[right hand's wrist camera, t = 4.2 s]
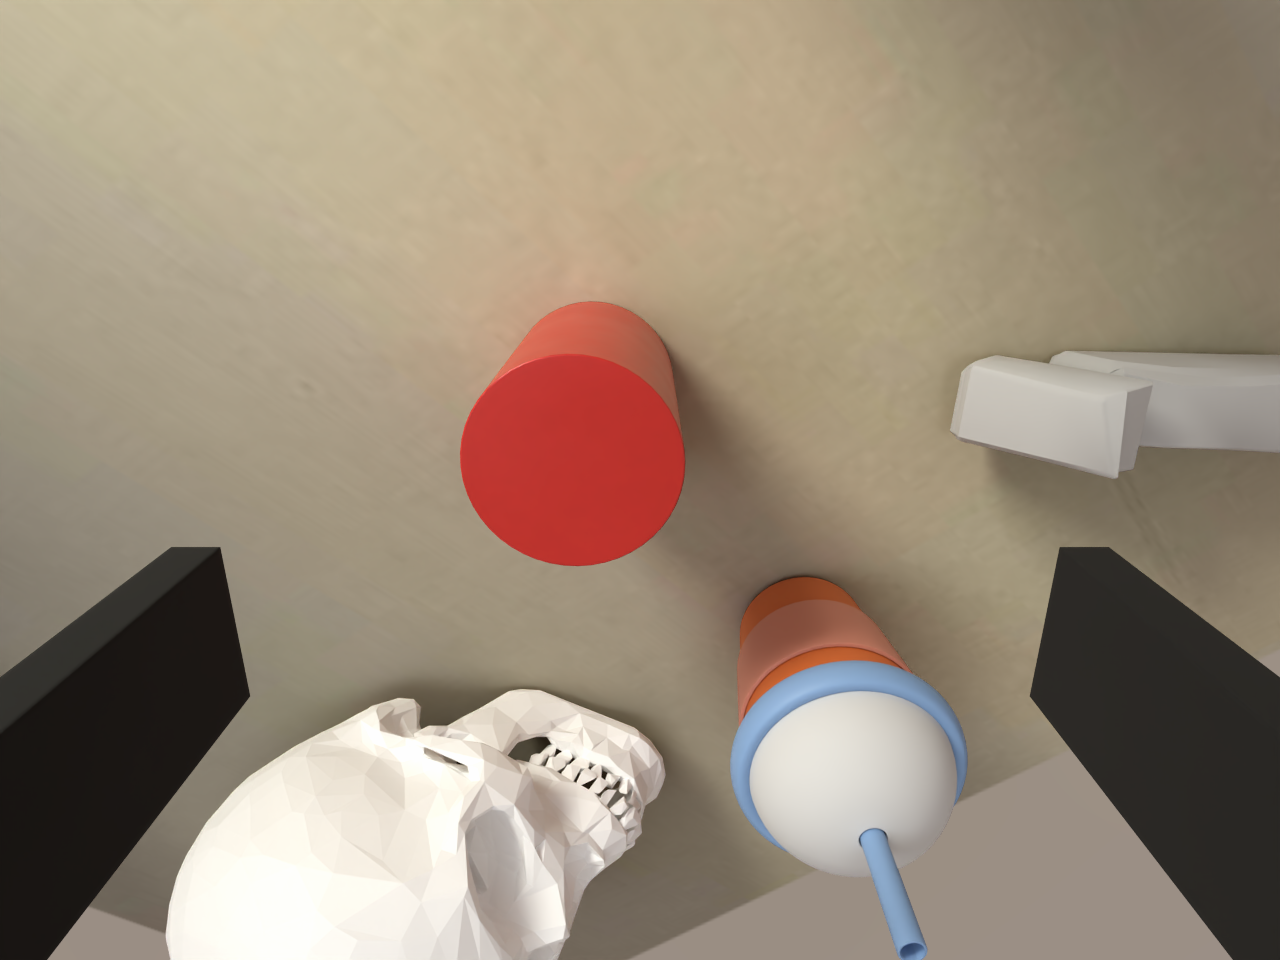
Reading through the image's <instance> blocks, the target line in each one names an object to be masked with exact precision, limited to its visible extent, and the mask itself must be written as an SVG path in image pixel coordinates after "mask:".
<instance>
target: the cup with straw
mask: <svg viewBox="0 0 1280 960" xmlns="http://www.w3.org/2000/svg"><path fill="white" fill-rule="evenodd" d="M737 680H738V710H739V728H738V731H737V733H736V736H735V739H734V742H733V747H732V751H731V761H730V767H731V779H732V785H733V789H734V792H735V795H736V798H737V800H738V803H739V805H740V807H741V809H742V811H743V813H744V814H745V816H746V817H747V819H748V820H749V822H750V823H751V824H752V825H753V827H754V828H755V829H756V830H757V831H758V832H759V833H760V834H761V835H762V836H763V837H765V838H766V839H767V840H768V841H770V842H771V843H773V844H774V845H775V846H777V847H779V848H781V849H782V850H784V851H786V852H789V853H790V854H791V855H793V856H794V857H796V858H797V859H799V860H800V861H802V862H804V863H805V864H807V865H809V866H811V867H813V868H816V869H818V870H821V871H824V872H826V873H830V874H834V875H839V876H846V877H871V876H872V878H873V881H874V884H875V887H876V890H877V893H878V896H879V900H880V903H881V905H882V909H883V912H884V915H885V918H886V921H887V924H888V927H889V930H890V933H891V936H892V939H893V942H894V945H895V948H896V951H897V954H898V956H899V958H900V959H901V960H922V959H923V958H924V957H925V956H926V954H927V946H926V944H925V941H924V938H923V936H922V933H921V930H920V927H919V925H918V922H917V919H916V917H915V914H914V911H913V909H912V906H911V903H910V900H909V898H908V895H907V892H906V890H905V887H904V884H903V881H902V879H901V876H900V873H899V871H898V869H900V868H902V867H904V866H906V865H908V864H910V863H911V862H913V861H914V860H916V859H917V858H919V857H920V856H921V855H922V854H924V853H925V852H926V851H927V850H928V849H929V848H930V847H931V846H932V845H933V844H934V843H935V841H936V840H937V839H938V837H939V836H940V835H941V833H942V832H943V830H944V828H945V826H946V824H947V822H948V820H949V818H950V815H951V813H952V810H953V807H954V805H955V804H956V802H957V800H958V798H959V796H960V794H961V791H962V788H963V786H964V782H965V778H966V773H967V748H966V741H965V738H964V734H963V730H962V728H961V725H960V723H959V721H958V719H957V717H956V715H955V713H954V711H953V710H952V708H951V707H950V706H949V704H948V703H947V702H946V700H945V699H944V698H943V697H942V696H941V695H940V694H939V693H938V692H937V691H936V690H935V689H934V688H933V687H932V686H930V685H929V684H928V683H926V682H925V681H924V680H922V679H921V678H919V677H917V676H915V675H913V673H912V672H911V670H910V669H909V668H908V666H907V665H906V664H905V662H904V661H903V660H902V658H901V657H900V656H899V654H898V653H897V652H896V650H895V649H894V648H893V646H892V645H891V643H890V642H889V641H888V639H887V638H886V637H885V635H884V634H883V633H882V631H881V630H880V629H879V627H878V626H877V625H876V624H875V623H874V622H873V620H872V619H871V618H870V617H868V616H867V615H866V614H864V613H863V612H862V611H861V610H860V608H859V607H858V605H857V604H856V603H855V601H854V600H853V599H852V598H851V597H850V596H849V595H848V593H846V592H845V591H844V590H843V589H841V588H840V587H838V586H837V585H835V584H833V583H831V582H828V581H825V580H822V579H818V578H811V577H798V578H791V579H787V580H783V581H780V582H778V583H776V584H773V585H772V586H770V587H768V588H767V589H765V590H764V591H762V592H761V593H760V594H759V595H758V596H757V597H756V598H755V599H754V600H753V601H752V602H751V604H750V605H749V606H748V608H747V610H746V612H745V614H744V616H743V619H742V622H741V627H740V653H739V658H738V665H737Z"/></svg>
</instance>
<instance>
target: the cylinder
mask: <svg viewBox="0 0 1280 960" xmlns="http://www.w3.org/2000/svg"><path fill="white" fill-rule="evenodd" d="M460 464H461V472H462V478H463V482H464V485H465V488H466V492H467V494H468V497H469V499H470V501H471V503H472V505H473V507H474V509H475V510H476V512H477V513H478V515H479V516H480V518H481V519H482V520H483V522H484V523H485V524H486V525H487V526H488V528H489V529H490V530H491V531H492V532H493V533H494V534H495V535H496V536H498V537H499V538H500V539H501V540H502V541H504V542H505V543H506V544H508V545H509V546H511V547H512V548H514V549H516V550H517V551H519V552H521V553H523V554H525V555H527V556H530V557H532V558H534V559H537V560H541V561H544V562H548V563H552V564H558V565H565V566H586V565H595V564H600V563H605V562H608V561H611V560H614V559H617V558H620V557H622V556H624V555H626V554H629V553H631V552H632V551H634V550H636V549H637V548H639V547H640V546H642V545H643V544H645V543H646V542H647V541H648V540H649V539H651V538H652V537H653V536H654V535H655V534H656V533H657V532H658V531H659V530H660V529H661V528H662V527H663V525H664V524H665V522H666V521H667V520H668V518H669V517H670V515H671V513H672V512H673V510H674V508H675V506H676V504H677V501H678V499H679V496H680V493H681V490H682V486H683V481H684V475H685V451H684V444H683V437H682V430H681V424H680V417H679V411H678V404H677V397H676V391H675V384H674V378H673V371H672V366H671V361H670V358H669V355H668V353H667V350H666V348H665V346H664V344H663V342H662V341H661V339H660V338H659V336H658V335H657V333H656V332H655V331H654V330H653V329H652V328H651V327H650V325H648V324H647V323H646V322H645V321H644V320H643V319H641V318H640V317H639V316H637V315H635V314H634V313H632V312H630V311H628V310H626V309H624V308H622V307H619V306H616V305H613V304H608V303H603V302H580V303H575V304H571V305H567V306H565V307H562V308H559V309H557V310H555V311H553V312H552V313H550V314H548V315H547V316H545V317H544V318H543V319H541V320H540V321H539V322H538V323H537V324H536V325H535V326H534V327H533V328H532V329H531V331H530V332H529V333H528V334H527V336H526V337H525V338H524V340H523V341H522V342H521V344H520V345H519V346H518V347H517V349H516V350H515V351H514V353H513V354H512V355H511V357H510V358H509V359H508V361H507V362H506V363H505V365H504V366H503V367H502V369H501V370H500V371H499V372H498V374H497V375H496V376H495V378H494V379H493V380H492V382H491V383H490V384H489V386H488V387H487V388H486V390H485V391H484V392H483V394H482V395H481V396H480V398H479V399H478V400H477V402H476V404H475V405H474V407H473V409H472V410H471V412H470V414H469V417H468V419H467V422H466V424H465V427H464V431H463V435H462V440H461V449H460Z"/></svg>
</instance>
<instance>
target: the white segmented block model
mask: <svg viewBox="0 0 1280 960" xmlns="http://www.w3.org/2000/svg"><path fill="white" fill-rule="evenodd" d="M950 431H951V432H952V433H953V434H954V435H955V436H956V438H957V439H958V440H960V441H963V442H966V443H971V444H975V445H979V446H983V447H988V448H992V449H996V450H1000V451H1004V452H1008V453H1012V454H1016V455H1020V456H1025V457H1029V458H1033V459H1037V460H1041V461H1045V462H1049V463H1053V464H1057V465H1061V466H1065V467H1069V468H1073V469H1076V470H1080V471H1084V472H1088V473H1092V474H1096V475H1100V476H1104V477H1108V478H1112V479H1115V478H1118V472H1122V471H1128V470H1133V468H1134V464H1135V460H1136V456H1137V451H1138V447H1153V448H1178V449H1207V450H1235V451H1254V452H1273V453H1280V355H1253V354H1199V353H1153V352H1104V351H1064V352H1062V353H1060V354H1057V355H1054V356H1052V358H1051V360H1050V362H1049V363H1043V362H1037V361H1031V360H1024V359H1018V358H1012V357H1006V356H1000V355H995V356H991V357H988V358H984V359H981V360H977V361H975V362H973V363H972V364H970V365H968V366H967V367H966V368H965V369H964V370H963V371H962V373H961V378H960V383H959V388H958V393H957V398H956V403H955V408H954V413H953V418H952V423H951V428H950Z"/></svg>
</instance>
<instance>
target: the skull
mask: <svg viewBox="0 0 1280 960" xmlns="http://www.w3.org/2000/svg"><path fill="white" fill-rule="evenodd" d="M420 713H421V707H420V705H419V704H418V703H417V702H416V701H415V700H414V699H404V698H397V699H394V700H390V701H387V702H383V703H380V704H377V705H373V706H371V707H369V708H368V709H366V710H364V711H362V712H360V713H358V714H356V715H355V716H353V717H351V718H349V719H348V720H346V721H344V722H342V723H340V724H338V725H336V726H334V727H332V728H330V729H328V730H326V731H323V732H321V733H319V734H317V735H316V736H314V737H312V738H310V739H308V740H306V741H304V742H302V743H300V744H298V745H296V746H295V747H293V748H291V749H290V750H288V751H287V752H285V753H284V754H282V755H281V756H279V757H278V758H276V759H275V760H273V761H272V762H270V763H269V764H267V765H265V766H264V767H262V768H261V769H259V770H258V771H256V772H255V773H253V774H252V775H250V776H249V777H248V778H247V779H246V780H245V781H244V782H243V783H241V784H240V785H239V786H238V787H237V788H236V789H235V790H234V791H233V792H232V793H231V794H230V796H229V797H228V798H227V799H226V800H225V801H224V803H223V804H222V805H221V806H220V807H219V809H218V810H217V811H216V812H215V813H214V814H213V816H212V817H211V818H210V819H209V820H208V821H207V823H206V824H205V826H204V827H203V829H202V831H201V832H200V834H199V835H198V837H197V839H196V840H195V842H194V844H193V845H192V847H191V849H190V850H189V852H188V853H187V855H186V857H185V859H184V862H183V864H182V866H181V868H180V871H179V873H178V875H177V878H176V882H175V886H174V889H173V893H172V897H171V901H170V904H169V912H168V920H167V929H166V941H167V946H168V951H169V955H170V960H558V957H559V955H560V952H561V950H562V947H563V945H564V942H565V940H566V939H567V938H569V937H570V929H571V926H572V923H573V920H574V917H575V914H576V912H577V909H578V906H579V903H580V900H581V897H582V895H583V892H584V889H585V888H586V886H587V885H588V884H589V882H590V881H591V880H592V879H593V878H594V877H596V876H597V875H598V874H599V873H600V872H601V871H603V870H604V869H605V868H606V867H608V866H609V865H610V864H612V863H613V862H614V861H616V860H617V859H619V858H620V857H621V856H622V854H623V853H624V852H625V851H626V850H628V849H630V848H631V847H633V846H634V845H635V839H636V838H637V837H639V836H640V835H641V834H642V830H641V820H642V816H643V813H644V809H645V806H646V805H647V804H648V803H650V802H651V801H653V800H654V799H655V798H657V796H658V794H659V792H660V789H661V787H662V785H663V782H664V778H665V775H666V774H665V769H664V763H663V758H662V756H661V755H660V753H659V752H658V750H657V749H656V748H655V746H654V745H653V743H652V742H651V740H650V739H648V738H647V737H646V736H644V735H643V734H642V733H641V732H639V731H638V730H637V729H636V728H634V727H632V726H629V725H627V724H624V723H622V722H619V721H617V720H614V719H612V718H609V717H606V716H604V715H601V714H599V713H596V712H594V711H591V710H589V709H586V708H584V707H581V706H579V705H576V704H574V703H571V702H569V701H566V700H564V699H561V698H559V697H556V696H554V695H551V694H549V693H546V692H543V691H541V690H528V689H518V690H513V691H508V692H507V693H505V694H503V695H501V696H500V697H498V698H496V699H495V700H493V701H491V702H490V703H488V704H486V705H485V706H483V707H481V708H479V709H477V710H475V711H473V712H471V713H469V714H468V715H466V716H464V717H462V718H460V719H458V720H457V721H455V722H453V723H451V724H450V725H448V726H427V727H425V728H423V729H421V727H420V724H419V721H420ZM534 737H547V738H548V740H549V741H550V743H551V745H548V746H547V747H546V748H545V749H544V750H543V751H542V752H541V753H540V754H533V755H531V757H530V760H529V762H525V761H522V760H514V759H512V758H511V757H509V756H508V754H509V753H510V752H511V750H512V749H513V748H514V746H515V745H516V744H517V743H518V742H521V741H524V740H527V739H531V738H534ZM556 749H559V750H560V751H562V752H561V753H559V754H558V755H557V756H556V757H554V755H555V751H556ZM547 758H548V762H547V764H546V766H543V765H544V764H545V762H546V759H547ZM572 758H574V759H575V760H574V761H573V762H572V763H571V764H569V762H570V761H571V759H572ZM456 762H460V763H462V764H464V765H459V764H456ZM568 764H569V765H568ZM566 765H567V766H566ZM565 766H566V768H565V769H564V771H563V772H562V774H560V773H559V772H560V771H561V770H562V769H563V768H564V767H565ZM589 766H590V767H592V768H591V770H590V769H588V767H589ZM602 770H603V771H605V772H607V776H606V780H604V779H603V778H601V776H602ZM578 773H581V774H580V776H579V778H578V780H577V782H573V781H574V780H575V778H576V776H577V775H578ZM595 778H597V780H596V781H595V782H594V783H593V785H592V786H591V787H590V789H587V788H585V787H583V786H581V785H583V784H585V783H587V782H589V781H591V780H593V779H595ZM617 781H619V782H621V783H620V785H619V787H618V788H616V789H614V790H606V791H605V792H604V793H603V794H602V795H601V796H598V795H597V794H599V793H600V792H601V791H602V790H603V789H604V788H605V787H609V788H611V789H612V788H613V787H614V785H615V784H616V782H617ZM627 829H628V830H627Z"/></svg>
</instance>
